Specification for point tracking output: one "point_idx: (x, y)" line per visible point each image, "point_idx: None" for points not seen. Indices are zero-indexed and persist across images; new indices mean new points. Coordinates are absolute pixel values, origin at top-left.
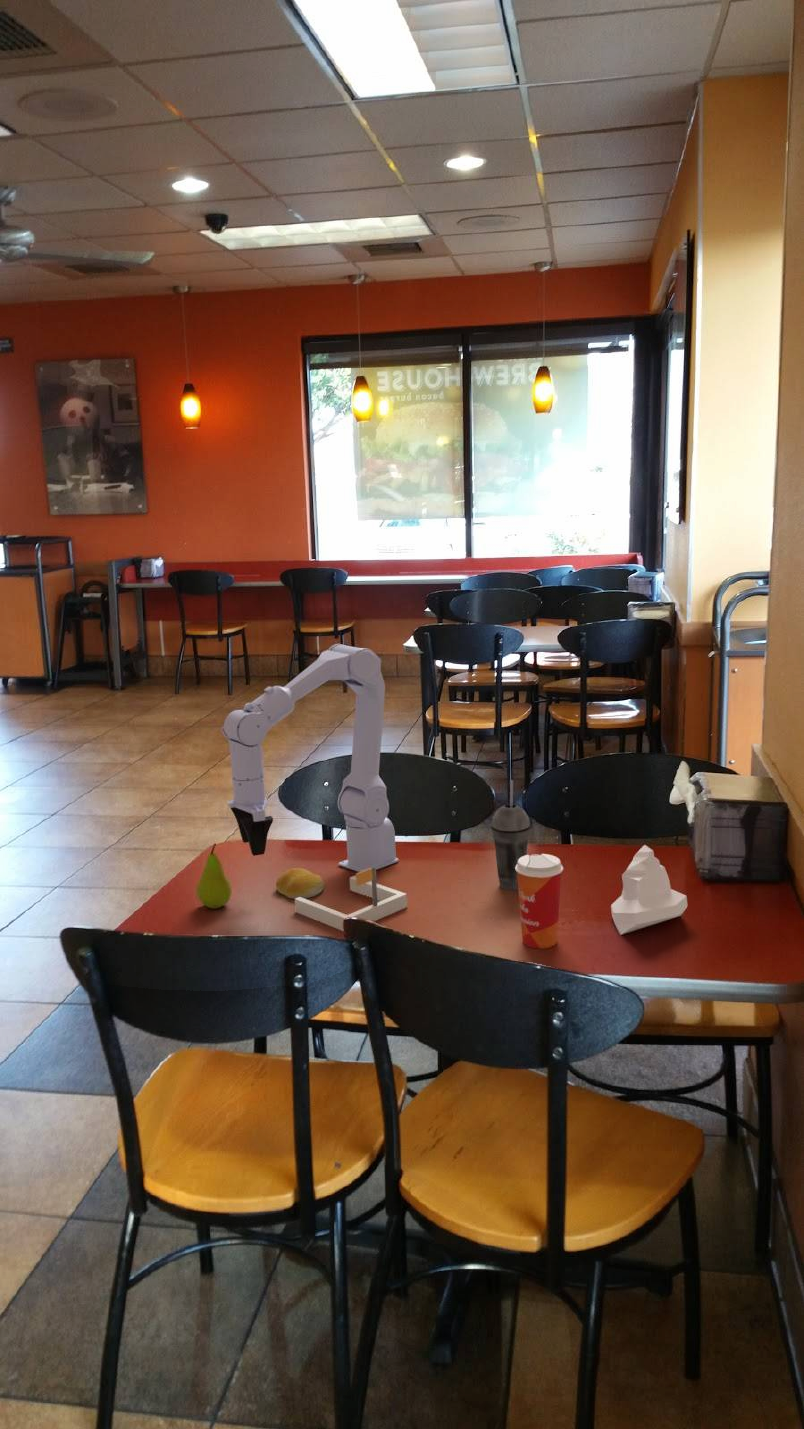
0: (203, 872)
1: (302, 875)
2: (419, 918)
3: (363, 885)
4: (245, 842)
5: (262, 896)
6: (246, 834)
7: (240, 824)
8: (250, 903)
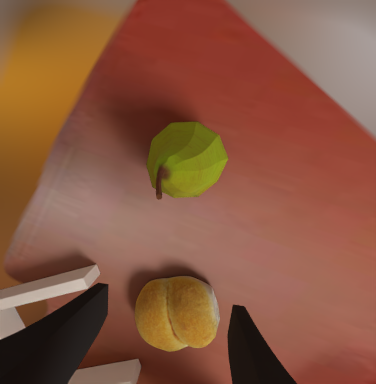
0: (188, 139)
1: (157, 330)
2: None
3: (103, 380)
4: (232, 309)
5: (187, 246)
6: (235, 338)
7: (252, 369)
8: (167, 218)
